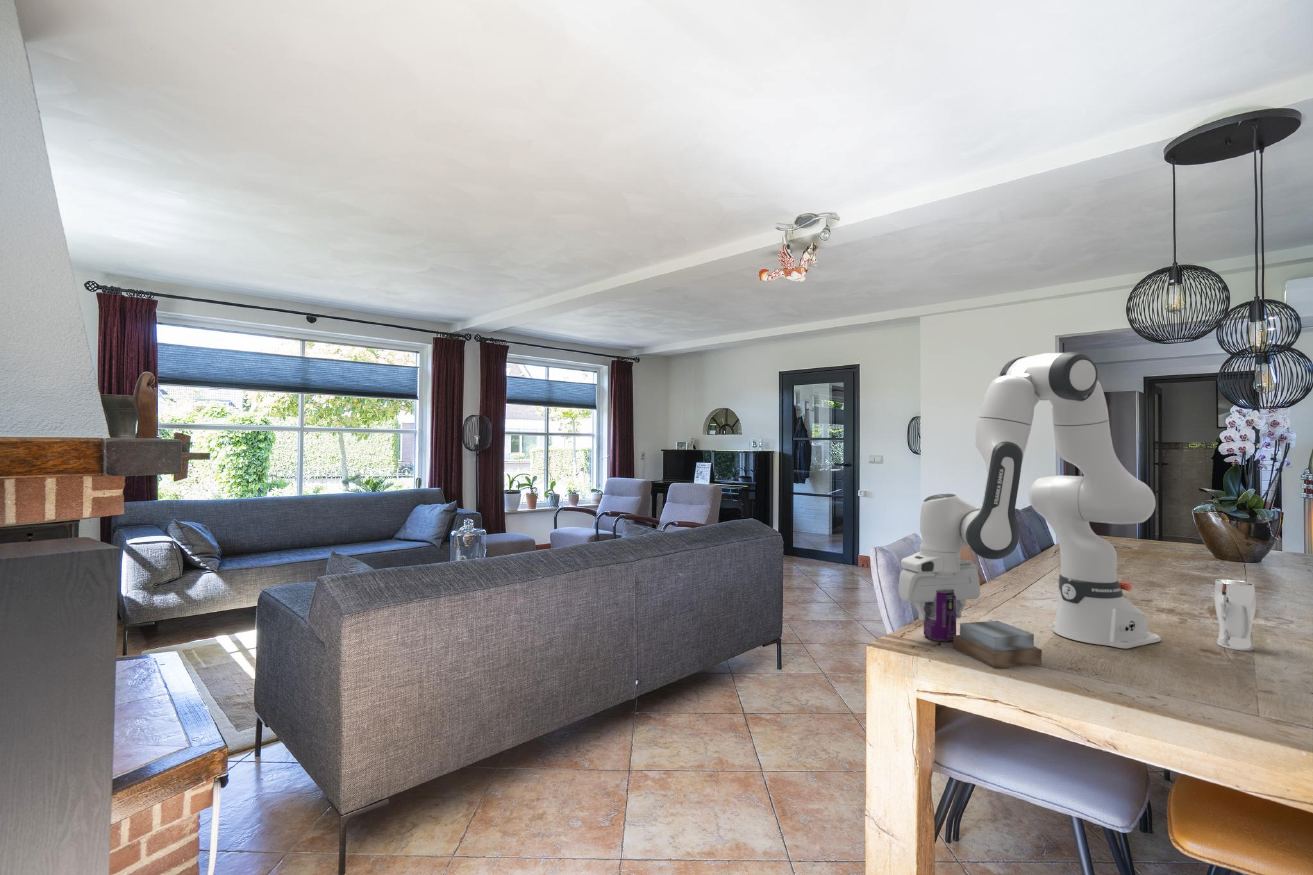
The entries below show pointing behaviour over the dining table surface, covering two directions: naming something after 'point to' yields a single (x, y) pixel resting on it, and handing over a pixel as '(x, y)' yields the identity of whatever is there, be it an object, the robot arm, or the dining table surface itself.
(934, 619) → the beverage can
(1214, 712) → the dining table surface
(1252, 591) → the beer glass
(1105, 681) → the dining table surface
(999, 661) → the stepped plinth
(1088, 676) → the dining table surface
